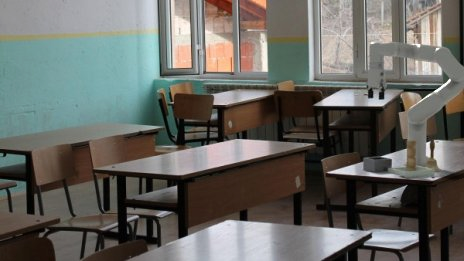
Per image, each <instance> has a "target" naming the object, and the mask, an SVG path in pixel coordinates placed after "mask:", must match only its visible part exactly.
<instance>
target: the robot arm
mask: <svg viewBox="0 0 464 261" xmlns="http://www.w3.org/2000/svg"><path fill="white" fill-rule="evenodd" d="M368 54H369V57H368V58H369V59H368V60H369V61H368V62H369V65H368V73H367V74H368V75H367V80H366V82H365V84H366V85H365V86H366V89H367V98H368V100H369V99H374V96H375V94H374V93H375V92H374V89H378V101H379V100H380V101H381V100H385V93H386V90H387V86H388V83H387V82H386V81H387V80H386V79H387V78H386V71H385V57H390V58H391V57H398V58H404V59H405V58H406V59H409V60H410V59H411V60H413V61H417V62H428V63H433V64H434V63H435V64H437V66H439V68H440V69H441V70H442V71H443V72H444V74H445V75H446V76H447V77H448V78H449V79H448V80H447V81H446V82H445V83H444V84H442V85H441V86H440V87H439V88H437V89H436V90H434V91H433V92H430V93H429V94H427V95H426V96H425V97H424V98H423V99H421V100H420V101H418V102H416V104H414V105H412V106H410V107H409V108H408V109H407V113H406V119H407V140H406V142H407V141H408V140H415V141H416V166H421V167H426V165H427V160H429V159H430V156H427V124H428V122H427V121H428V119H430V118H431V117H433V116H434V115H435V114H437V113H439V111H441V110H442V108H443V107H444V106H445V105H446V104H448V103H449V102H451V101H452V100H453V99H454V98H456V97H457V96H459V94H461V92H462V91H463V90H464V65H462V64H461V63H460V62H459V61H458V60H457V58H456V57H455V56H454V55H453V54H452V52H451V50H450V48H448V47H445V46H438V45H431V44H429V45H428V44H423V43H422V44H421V43H407V42H406V43H405V42H396V41H389V42H378V41H375V42H370V43H369V53H368ZM403 165H404V166H405V167H406V166H407V161H404V163H403Z"/></svg>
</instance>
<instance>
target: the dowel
mask: <svg viewBox="0 0 464 261" xmlns="http://www.w3.org/2000/svg"><path fill="white" fill-rule="evenodd" d="M406 162H407V171H417V170H416V141H415V140H408V141H407V140H406Z"/></svg>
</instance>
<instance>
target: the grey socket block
mask: <svg viewBox="0 0 464 261" xmlns="http://www.w3.org/2000/svg"><path fill="white" fill-rule="evenodd" d="M362 160H363V164H362V166H363V168H362V169H363V171H366V172H371V173H385V172H387V173H389V172H388V168H393V158H390V157H389V158H388V157H384V156H371V157H370V156H369V157H363V158H362Z"/></svg>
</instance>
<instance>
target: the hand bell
mask: <svg viewBox="0 0 464 261" xmlns="http://www.w3.org/2000/svg"><path fill="white" fill-rule="evenodd" d="M435 149H436V142H435V139H434V138H431V139H430V141H429V151H430V156H429V157H430V159H429V160H427V165H426V166H425V167H426V168H430V169H435V173H436V172H441V169H440V167H439V166H438V163H437V162H438V161H437V159H435V157H434V156H435V152H434V151H435Z"/></svg>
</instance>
